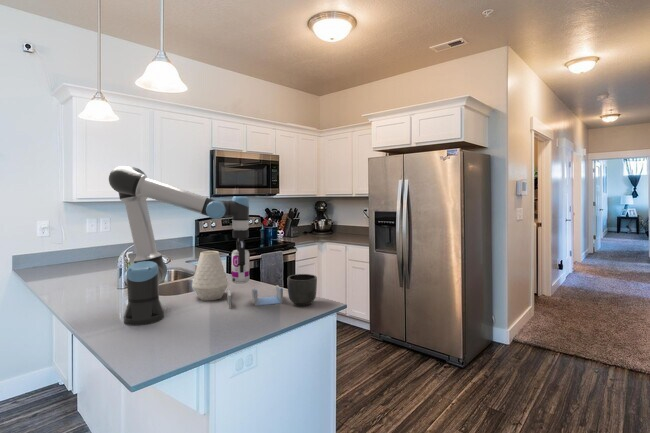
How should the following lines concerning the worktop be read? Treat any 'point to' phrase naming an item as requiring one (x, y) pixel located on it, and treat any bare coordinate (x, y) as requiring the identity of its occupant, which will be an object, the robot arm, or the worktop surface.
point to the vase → (210, 277)
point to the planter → (302, 289)
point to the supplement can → (235, 268)
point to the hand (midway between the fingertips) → (240, 277)
